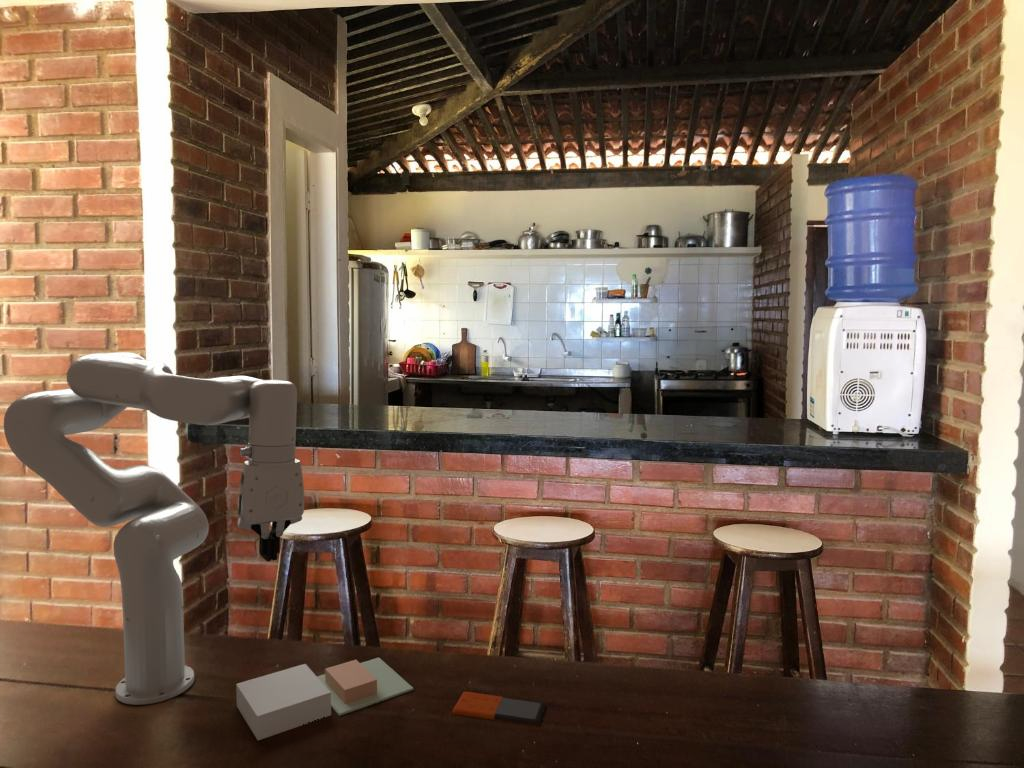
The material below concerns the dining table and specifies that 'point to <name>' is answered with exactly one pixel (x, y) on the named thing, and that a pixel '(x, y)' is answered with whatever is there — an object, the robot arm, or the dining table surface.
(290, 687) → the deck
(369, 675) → the salmon rectangular block
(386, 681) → the mat
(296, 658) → the dining table surface
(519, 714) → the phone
